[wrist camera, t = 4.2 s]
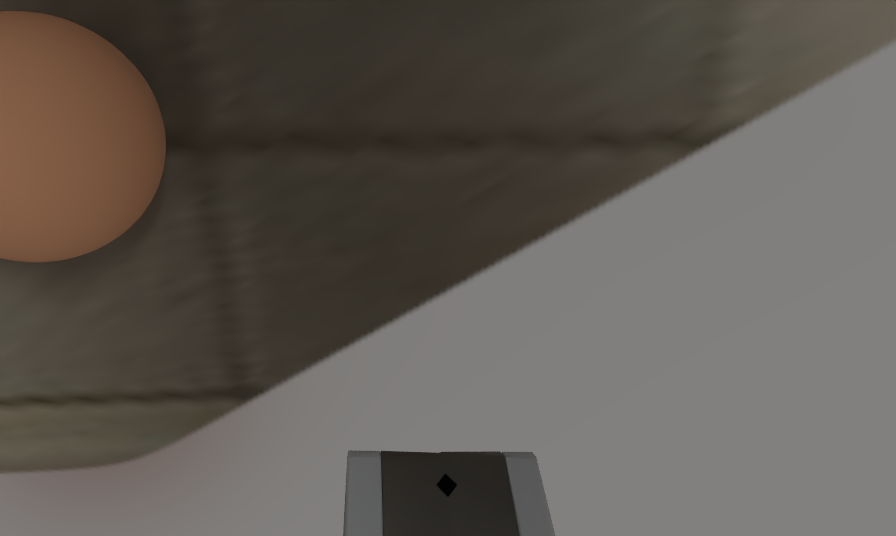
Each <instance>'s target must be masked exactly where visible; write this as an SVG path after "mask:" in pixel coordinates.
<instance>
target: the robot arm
mask: <svg viewBox="0 0 896 536" xmlns="http://www.w3.org/2000/svg"><path fill="white" fill-rule="evenodd" d="M344 514H345V515H344V535H343V536H555V533H554V529H553V525H552V520H551V516H550V513H549V508H548V504H547V500H546V496H545V492H544V488H543V484H542V479H541V475H540V471H539V467H538V463H537V459H536V456H535V455H534V454H533V453H532V452H502V453H501V452H441V453H427V452H394V451H381V452H379V451H348V457H347V475H346V494H345V512H344Z"/></svg>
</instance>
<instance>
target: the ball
mask: <svg viewBox="0 0 896 536" xmlns="http://www.w3.org/2000/svg"><path fill="white" fill-rule="evenodd" d="M165 157H166V134H165V128H164V123H163V119H162V115H161V112H160V109H159V106H158V103H157V100H156V98H155V96H154V94H153V92H152V90H151V88H150V86H149V85H148V83H147V82H146V80H145V78H144V77H143V75H142V74H141V73H140V72H139V70H138V69H137V68H136V67H135V65H134V64H133V63H132V62H131V61H130V60H129V59H128V58H127V57H126V56H125V55H124V54H123V53H122V52H121V51H120V50H118V49H117V48H116V47H115V46H113V45H112V44H111V43H110V42H108V41H107V40H105V39H104V38H102V37H101V36H99V35H98V34H96V33H94V32H93V31H91V30H89V29H87V28H85V27H83V26H81V25H79V24H76V23H74V22H71V21H68V20H66V19H63V18H60V17H56V16H52V15H48V14H43V13H36V12H28V11H0V258H1V259H7V260H12V261H20V262H51V261H60V260H66V259H70V258H74V257H78V256H81V255H84V254H87V253H89V252H92V251H95V250H97V249H99V248H101V247H103V246H105V245H107V244H108V243H110V242H112V241H113V240H115V239H116V238H118V237H119V236H120V235H122V234H123V233H125V232H126V231H127V230H128V229H129V228H130V227H131V226H132V225H133V224H134V223H135V222H136V221H137V220H138V219H139V218H140V217H141V216H142V214H143V213H144V211H145V210H146V209H147V207H148V206H149V204H150V203H151V201H152V199H153V197H154V195H155V193H156V191H157V189H158V187H159V183H160V180H161V177H162V173H163V170H164V165H165Z"/></svg>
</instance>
